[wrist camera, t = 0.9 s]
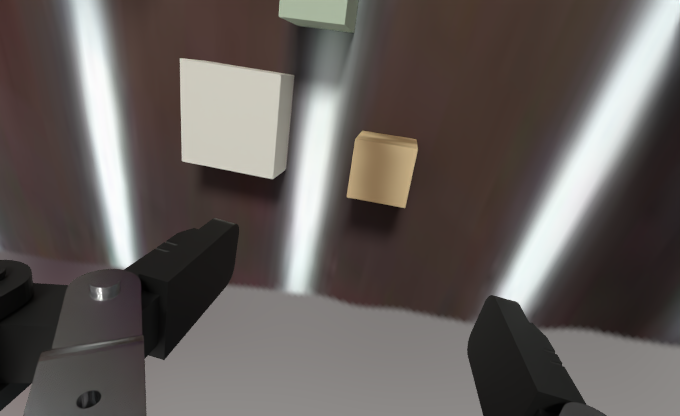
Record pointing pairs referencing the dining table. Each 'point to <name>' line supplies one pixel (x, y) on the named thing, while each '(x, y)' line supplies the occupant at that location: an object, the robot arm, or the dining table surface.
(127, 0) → the dining table surface
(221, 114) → the cream block
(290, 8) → the sage cube
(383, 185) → the oak cube
